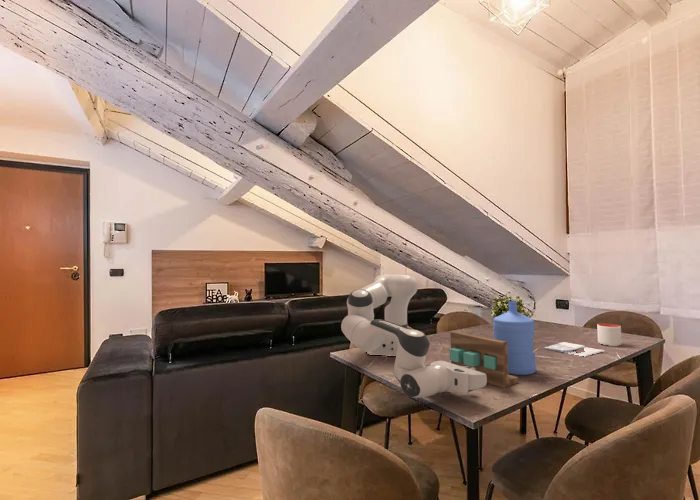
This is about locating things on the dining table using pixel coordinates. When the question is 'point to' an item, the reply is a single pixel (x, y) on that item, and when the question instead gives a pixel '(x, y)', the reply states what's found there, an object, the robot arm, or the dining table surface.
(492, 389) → the dining table surface
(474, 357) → the button middle
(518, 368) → the water jug
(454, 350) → the button far
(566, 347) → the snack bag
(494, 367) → the button near
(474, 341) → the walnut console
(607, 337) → the cup
